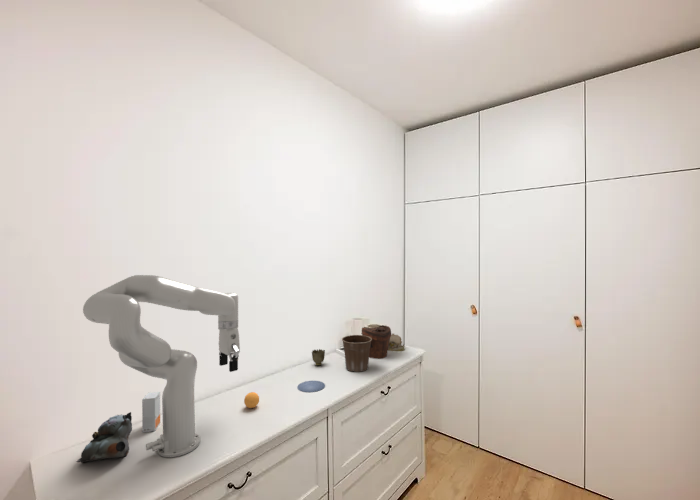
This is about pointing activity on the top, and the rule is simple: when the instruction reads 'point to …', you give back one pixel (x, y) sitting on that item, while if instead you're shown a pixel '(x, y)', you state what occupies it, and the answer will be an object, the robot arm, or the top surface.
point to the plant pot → (356, 352)
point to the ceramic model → (395, 343)
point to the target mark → (311, 386)
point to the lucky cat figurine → (109, 439)
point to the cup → (318, 356)
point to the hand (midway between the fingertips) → (228, 367)
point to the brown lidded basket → (378, 340)
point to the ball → (251, 400)
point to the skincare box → (150, 412)
